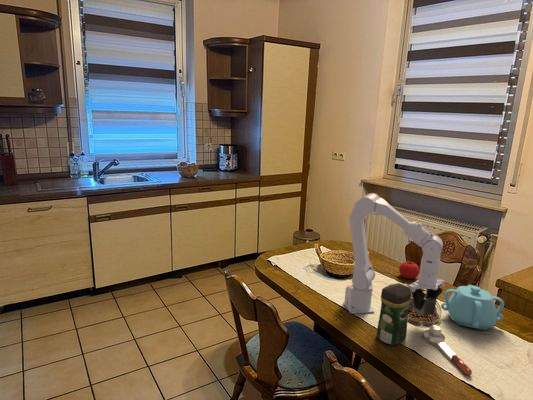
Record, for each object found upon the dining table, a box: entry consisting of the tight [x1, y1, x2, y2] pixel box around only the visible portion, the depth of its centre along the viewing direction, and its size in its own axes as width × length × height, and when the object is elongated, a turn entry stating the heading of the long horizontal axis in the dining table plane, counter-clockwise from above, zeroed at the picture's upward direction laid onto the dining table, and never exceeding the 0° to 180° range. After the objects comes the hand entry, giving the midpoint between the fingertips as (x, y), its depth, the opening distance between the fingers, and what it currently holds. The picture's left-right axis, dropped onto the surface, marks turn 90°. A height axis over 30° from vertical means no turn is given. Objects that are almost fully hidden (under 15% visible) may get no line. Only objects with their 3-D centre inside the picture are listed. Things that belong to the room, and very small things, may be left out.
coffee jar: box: [376, 282, 412, 346], centre depth 119 cm, size 10×8×19 cm
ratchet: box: [422, 324, 473, 376], centre depth 114 cm, size 21×6×4 cm, turn 8°
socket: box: [412, 291, 438, 317], centre depth 127 cm, size 5×5×6 cm
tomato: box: [398, 260, 420, 280], centre depth 168 cm, size 9×9×8 cm
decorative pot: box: [440, 284, 505, 331], centre depth 132 cm, size 16×16×14 cm
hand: (423, 307), depth 128 cm, fingers closed on socket, 5 cm apart
